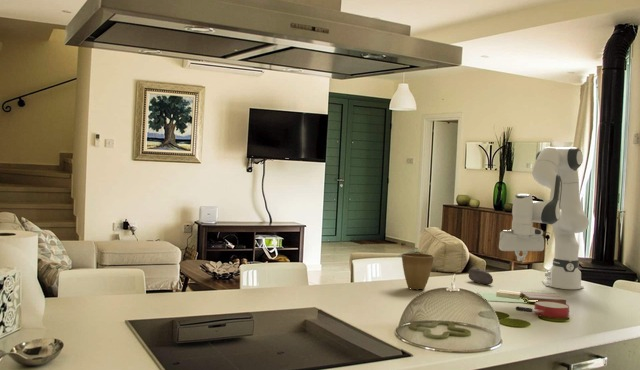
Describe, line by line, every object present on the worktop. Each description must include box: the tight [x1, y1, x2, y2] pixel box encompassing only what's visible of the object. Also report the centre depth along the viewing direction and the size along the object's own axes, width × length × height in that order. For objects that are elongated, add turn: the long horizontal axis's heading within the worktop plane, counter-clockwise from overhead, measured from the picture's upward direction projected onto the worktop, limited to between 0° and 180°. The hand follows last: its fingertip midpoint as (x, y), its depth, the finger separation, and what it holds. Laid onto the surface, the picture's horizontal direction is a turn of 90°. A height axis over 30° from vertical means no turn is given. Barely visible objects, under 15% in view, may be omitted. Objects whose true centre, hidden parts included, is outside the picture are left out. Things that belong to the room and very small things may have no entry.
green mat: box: [476, 291, 528, 304], centre depth 278 cm, size 18×18×1 cm
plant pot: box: [401, 252, 435, 290], centre depth 290 cm, size 15×15×16 cm
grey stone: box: [468, 267, 494, 286], centre depth 313 cm, size 15×5×7 cm, turn 28°
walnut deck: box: [520, 291, 567, 304], centre depth 278 cm, size 14×16×2 cm
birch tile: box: [495, 289, 522, 299], centre depth 282 cm, size 6×10×2 cm, turn 65°
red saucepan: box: [515, 301, 570, 319], centre depth 242 cm, size 32×13×6 cm, turn 137°
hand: (520, 260), depth 278 cm, fingers closed
